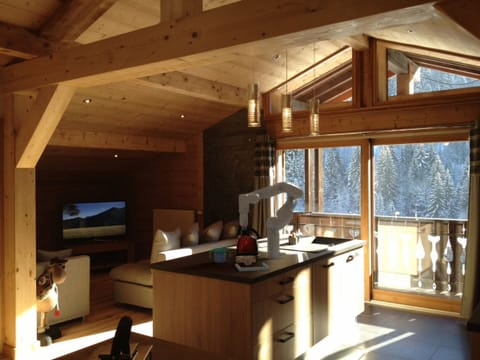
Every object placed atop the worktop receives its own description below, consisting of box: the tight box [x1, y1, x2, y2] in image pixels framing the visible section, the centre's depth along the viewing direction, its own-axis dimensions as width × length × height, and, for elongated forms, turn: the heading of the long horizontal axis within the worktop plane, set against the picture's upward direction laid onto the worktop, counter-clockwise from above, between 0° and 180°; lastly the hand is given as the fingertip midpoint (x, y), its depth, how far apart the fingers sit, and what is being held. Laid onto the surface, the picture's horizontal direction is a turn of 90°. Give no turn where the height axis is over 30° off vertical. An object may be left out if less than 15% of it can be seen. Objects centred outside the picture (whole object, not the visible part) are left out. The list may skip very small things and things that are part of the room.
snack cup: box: [209, 247, 232, 264], centre depth 340 cm, size 16×10×10 cm
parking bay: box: [235, 262, 270, 272], centre depth 318 cm, size 20×17×2 cm
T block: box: [235, 255, 257, 266], centre depth 338 cm, size 14×14×4 cm
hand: (244, 234), depth 349 cm, fingers closed
